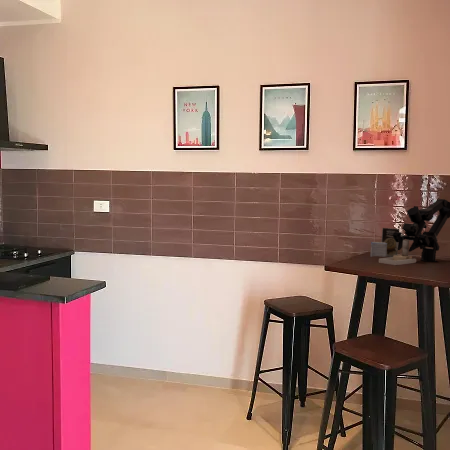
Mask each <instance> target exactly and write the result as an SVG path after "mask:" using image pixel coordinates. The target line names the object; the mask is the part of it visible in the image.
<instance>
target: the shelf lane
mask: <svg viewBox="0 0 450 450" xmlns="http://www.w3.org/2000/svg"><path fill="white" fill-rule="evenodd" d="M379 263H380V264H385V265H390V266H391V265H392V266H401V265H409V264H414V263H417V258H412V259H406V260H398V261H393V257H382V258H378V264H379Z"/></svg>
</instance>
